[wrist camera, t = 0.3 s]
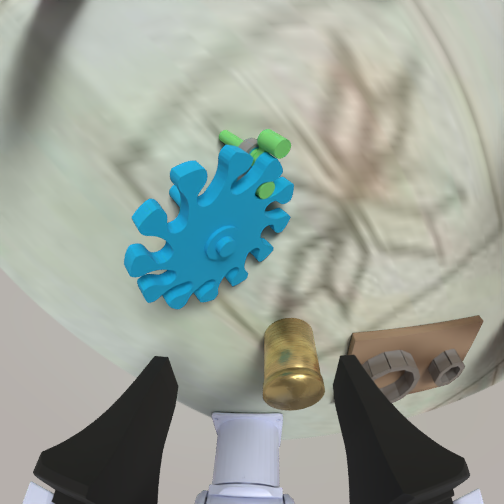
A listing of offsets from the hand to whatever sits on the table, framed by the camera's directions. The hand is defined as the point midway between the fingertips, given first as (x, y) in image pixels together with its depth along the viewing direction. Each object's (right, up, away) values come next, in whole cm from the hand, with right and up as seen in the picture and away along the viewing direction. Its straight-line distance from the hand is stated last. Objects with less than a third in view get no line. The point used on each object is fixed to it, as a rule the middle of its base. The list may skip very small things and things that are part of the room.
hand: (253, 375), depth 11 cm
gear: (-2, +8, +7) cm, 11 cm away
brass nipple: (+3, -2, +12) cm, 12 cm away
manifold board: (+16, -6, +13) cm, 22 cm away
